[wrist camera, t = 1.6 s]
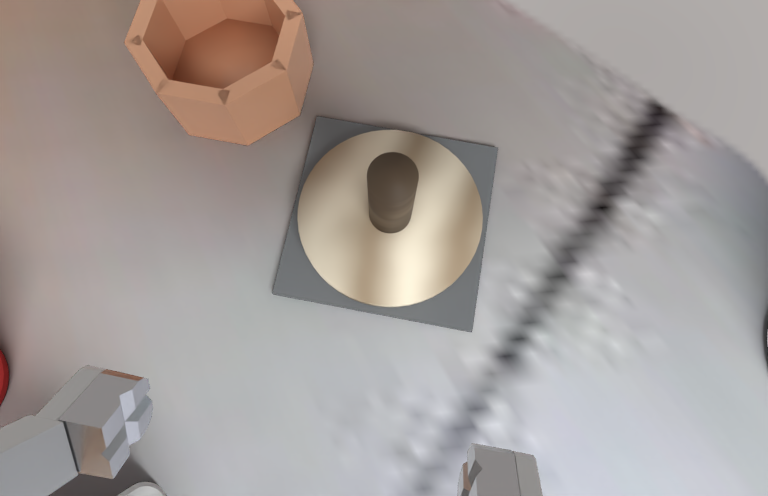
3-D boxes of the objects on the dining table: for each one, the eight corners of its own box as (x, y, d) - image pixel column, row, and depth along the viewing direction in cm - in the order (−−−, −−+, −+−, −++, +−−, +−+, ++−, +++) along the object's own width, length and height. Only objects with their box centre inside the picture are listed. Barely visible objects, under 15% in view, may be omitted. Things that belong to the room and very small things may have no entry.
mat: (496, 150, 39) (498, 147, 38) (471, 332, 35) (472, 331, 35) (317, 118, 39) (317, 115, 39) (273, 294, 36) (272, 293, 35)
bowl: (322, 30, 42) (313, -26, 36) (290, 153, 39) (274, 114, 33) (190, 7, 42) (160, -51, 36) (147, 127, 39) (107, 84, 33)
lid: (491, 152, 38) (519, 96, 31) (466, 323, 35) (490, 309, 27) (321, 122, 39) (307, 60, 31) (280, 288, 35) (252, 263, 28)
